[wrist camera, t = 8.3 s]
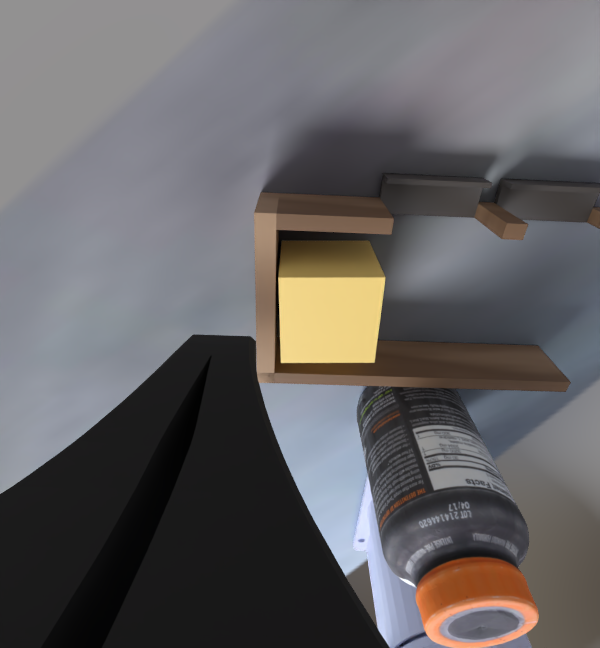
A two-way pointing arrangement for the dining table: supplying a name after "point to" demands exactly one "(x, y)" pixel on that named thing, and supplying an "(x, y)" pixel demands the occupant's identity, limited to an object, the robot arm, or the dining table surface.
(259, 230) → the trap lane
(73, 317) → the dining table surface
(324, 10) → the dining table surface
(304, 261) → the ochre block
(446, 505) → the pill bottle
